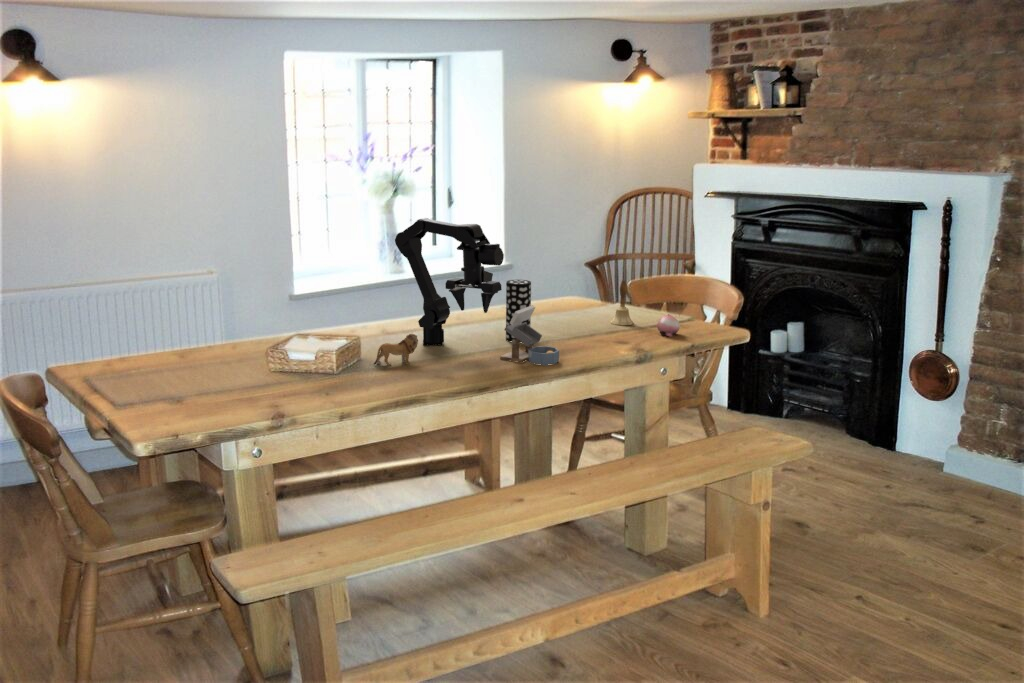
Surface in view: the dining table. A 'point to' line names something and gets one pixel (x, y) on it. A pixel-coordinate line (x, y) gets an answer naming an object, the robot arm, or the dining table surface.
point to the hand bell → (622, 308)
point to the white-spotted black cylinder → (517, 300)
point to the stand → (516, 352)
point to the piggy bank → (668, 325)
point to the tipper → (523, 327)
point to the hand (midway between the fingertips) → (474, 311)
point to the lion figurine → (398, 349)
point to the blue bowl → (543, 355)
